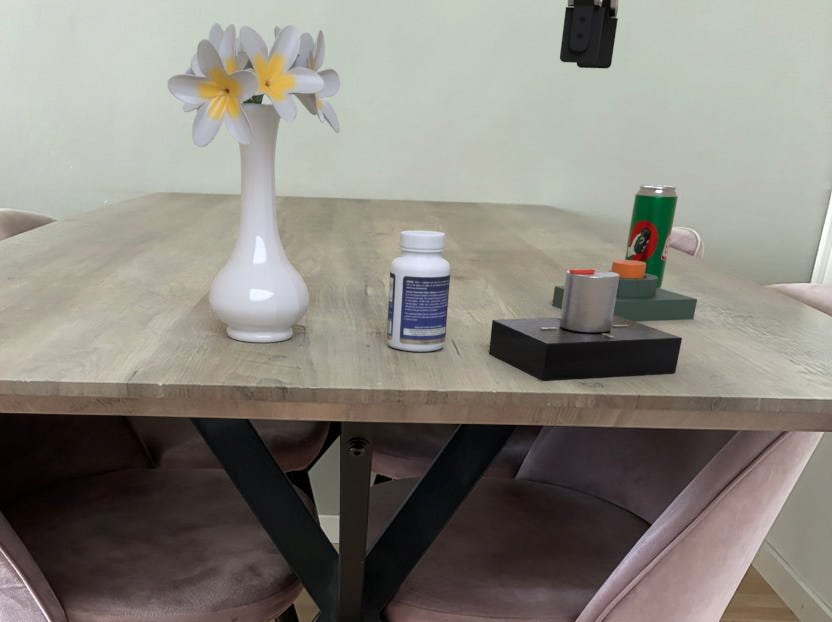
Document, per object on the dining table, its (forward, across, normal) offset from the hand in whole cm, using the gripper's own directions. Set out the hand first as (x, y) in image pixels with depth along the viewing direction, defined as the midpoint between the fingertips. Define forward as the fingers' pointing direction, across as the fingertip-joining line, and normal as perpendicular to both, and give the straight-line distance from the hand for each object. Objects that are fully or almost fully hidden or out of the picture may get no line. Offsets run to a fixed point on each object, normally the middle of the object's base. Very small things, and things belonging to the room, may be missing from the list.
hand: (586, 65), depth 87 cm
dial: (+20, -15, -5) cm, 26 cm away
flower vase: (+24, -19, +24) cm, 39 cm away
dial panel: (+23, -15, -5) cm, 28 cm away
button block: (+23, +13, -6) cm, 27 cm away
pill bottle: (+23, -16, +10) cm, 30 cm away
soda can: (+23, +31, -6) cm, 39 cm away
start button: (+20, +13, -6) cm, 24 cm away
